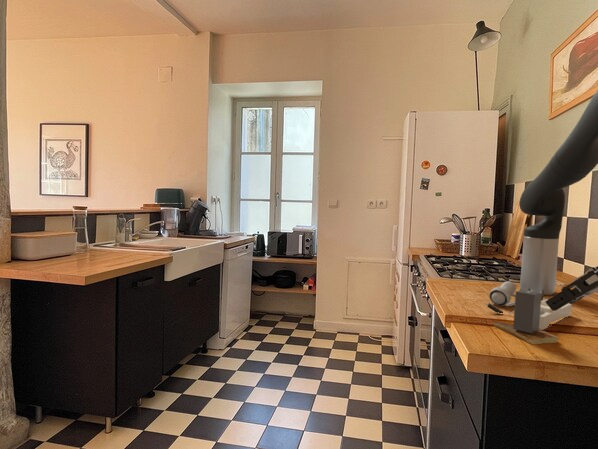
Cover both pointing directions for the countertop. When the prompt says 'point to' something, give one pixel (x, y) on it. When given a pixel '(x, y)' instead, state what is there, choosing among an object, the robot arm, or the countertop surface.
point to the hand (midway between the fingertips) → (558, 303)
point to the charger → (527, 311)
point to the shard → (528, 334)
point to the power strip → (552, 314)
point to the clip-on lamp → (504, 296)
